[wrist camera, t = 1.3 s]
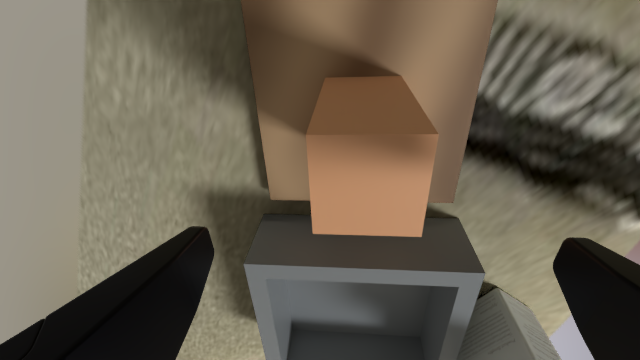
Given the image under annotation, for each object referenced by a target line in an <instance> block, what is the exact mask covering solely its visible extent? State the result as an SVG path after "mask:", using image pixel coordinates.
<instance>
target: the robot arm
mask: <svg viewBox="0 0 640 360" xmlns="http://www.w3.org/2000/svg"><path fill="white" fill-rule="evenodd" d="M213 258H214V248H213V244H212V241H211V237H210V234H209V231H208V229H207V228H206V227H200V226H192V227H189V228H187V229H186V230H184V231H183V232H181V233H179V234H178V235H176V236H175V237H173V238H171V239H170V240H168V241H167V242H165V243H163V244H162V245H160V246H159V247H157V248H155V249H154V250H152V251H151V252H149V253H147V254H146V255H144V256H143V257H141V258H139V259H138V260H136V261H134V262H133V263H131V264H130V265H128V266H126V267H125V268H123V269H122V270H120V271H118V272H117V273H115V274H114V275H112V276H110V277H109V278H107V279H106V280H104V281H102V282H101V283H99V284H97V285H96V286H94V287H93V288H91V289H89V290H88V291H86V292H85V293H83V294H81V295H80V296H78V297H77V298H75V299H74V300H72V301H70V302H69V303H67V304H65V305H64V306H62V307H61V308H59V309H57V310H56V311H54V312H52V313H51V314H49V315H48V316H47V317H46V318H45V319H41V320H40V321H38V322H36V323H35V324H33V325H32V326H30V327H28V328H27V329H25V330H24V331H22V332H20V333H19V334H17V335H15V336H14V337H12V338H10V339H9V340H7V341H5V342H4V343H2V344H0V360H176V357H177V355H178V353H179V350H180V348H181V346H182V344H183V341H184V339H185V337H186V334H187V332H188V330H189V327H190V325H191V323H192V321H193V318H194V316H195V313H196V311H197V308H198V305H199V302H200V299H201V296H202V293H203V290H204V287H205V283H206V280H207V277H208V274H209V271H210V268H211V264H212V261H213ZM553 270H554V273H555V276H556V278H557V280H558V283H559V285H560V287H561V290H562V292H563V294H564V297H565V299H566V302H567V304H568V306H569V309H570V311H571V313H572V316H573V318H574V320H575V323H576V325H577V327H578V329H579V331H580V333H581V335H582V337H583V339H584V341H585V343H586V345H587V347H588V348H589V350H590V352H591V354H592V356H593V358H594V359H595V360H640V265H639V264H636V263H635V262H633V261H631V260H629V259H627V258H625V257H623V256H621V255H619V254H617V253H615V252H613V251H612V250H610V249H608V248H606V247H604V246H602V245H600V244H598V243H596V242H594V241H592V240H590V239H587V238H567V239H565V240H564V241H563V243H562V245H561V247H560V249H559V251H558V253H557V255H556V257H555V259H554V262H553Z"/></svg>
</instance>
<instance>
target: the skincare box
mask: <svg viewBox="0 0 640 360" xmlns="http://www.w3.org/2000/svg"><path fill="white" fill-rule="evenodd" d="M457 360H561V358H560V356H559V355H558V353H557V351H556V350H555V348H554V346H553V345H552V343H551V341H550V340H549V338H548V336H547V335H546V333H545V331H544V330H543V328H542V326H541V325H540V323H539V321H538V320H537V318H536V316H535V314H534V313H533V311H532V310H531V309H530V308H529V307H527V306H526V305H524V304H523V303H521V302H520V301H518V300H517V299H515V298H514V297H512V296H510V295H509V294H507V293H505V292H504V291H502V290H501V289H499V288H495V289H494V290H492V291H490V292H489V293H487V294H486V295H484V296H483V297H481V298H480V299H478V300H477V301H476V303H475V306H474V309H473V312H472V315H471V318H470V321H469V324H468V327H467V330H466V333H465V336H464V339H463V342H462V345H461V348H460V351H459V354H458V357H457Z"/></svg>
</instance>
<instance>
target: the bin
mask: <svg viewBox="0 0 640 360" xmlns="http://www.w3.org/2000/svg"><path fill="white" fill-rule="evenodd" d="M244 268H245V272H246V277H247V281H248V285H249V289H250V294H251V298H252V302H253V306H254V311H255V315H256V319H257V323H258V328H259V332H260V336H261V340H262V345H263V349H264V353H265V357H266V360H457V357H458V354H459V351H460V348H461V345H462V342H463V339H464V336H465V333H466V330H467V327H468V324H469V321H470V318H471V315H472V312H473V309H474V306H475V303H476V300H477V297H478V294H479V291H480V288H481V285H482V282H483V279H484V276H485V272H484V270H483V267H482V265H481V263H480V261H479V259H478V257H477V255H476V253H475V251H474V249H473V247H472V245H471V243H470V241H469V239H468V237H467V235H466V232H465V230H464V228H463V226H462V224H461V222H460V220H459V218H425V219H424V225H423V231H422V237H406V236H370V235H335V234H313V231H312V217H311V215H280V214H264V215H263V218H262V220H261V223H260V225H259V228H258V230H257V232H256V235H255V237H254V240H253V242H252V245H251V247H250V250H249V252H248V254H247V257H246V259H245V262H244Z"/></svg>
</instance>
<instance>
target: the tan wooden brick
mask: <svg viewBox="0 0 640 360" xmlns="http://www.w3.org/2000/svg"><path fill="white" fill-rule="evenodd" d="M438 136H439V134H438V132H437V131H436V129H435V127H434V126H433V124H432V123H431V121H430V120H429V118H428V117H427V115H426V113H425V112H424V110H423V109H422V107H421V106H420V104H419V103H418V101H417V99H416V98H415V96H414V95H413V93H412V92H411V90H410V89H409V87H408V85H407V84H406V82H405V81H404V79H403V78H402V76H377V77H333V78H325V80H324V83H323V86H322V89H321V92H320V94H319V97H318V100H317V103H316V106H315V109H314V112H313V115H312V118H311V121H310V124H309V127H308V130H307V133H306V145H307V159H308V174H309V188H310V202H311V217H312V231H313V234H335V235H370V236H406V237H422V231H423V225H424V219H425V213H426V208H427V202H428V196H429V190H430V184H431V178H432V172H433V166H434V160H435V154H436V148H437V142H438Z"/></svg>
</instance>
